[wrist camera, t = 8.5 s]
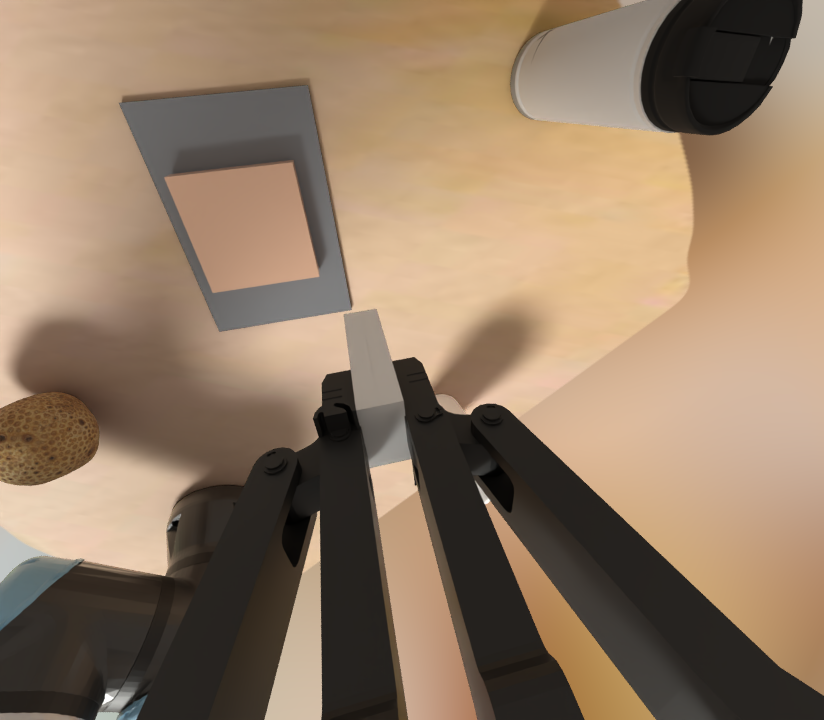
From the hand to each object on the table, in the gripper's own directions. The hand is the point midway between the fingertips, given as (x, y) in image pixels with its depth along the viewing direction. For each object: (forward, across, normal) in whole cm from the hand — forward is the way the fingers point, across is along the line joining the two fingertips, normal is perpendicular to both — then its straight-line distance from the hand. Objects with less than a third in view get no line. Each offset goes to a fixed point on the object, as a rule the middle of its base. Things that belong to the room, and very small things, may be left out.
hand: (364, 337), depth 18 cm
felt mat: (+23, +8, 0) cm, 24 cm away
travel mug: (+23, -19, -9) cm, 31 cm away
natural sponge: (+24, +33, +16) cm, 43 cm away
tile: (+22, +3, 0) cm, 22 cm away
